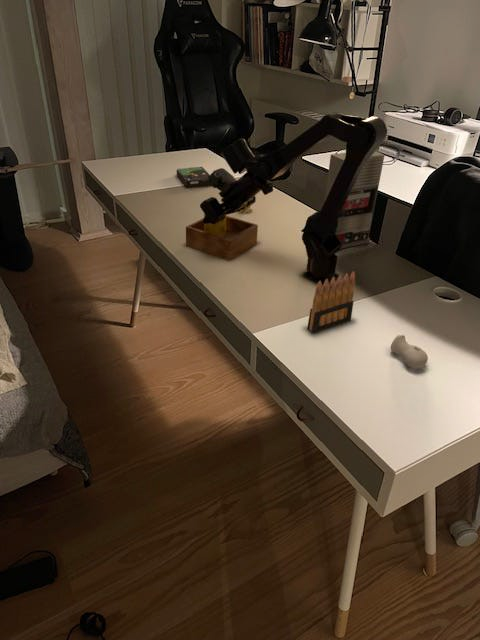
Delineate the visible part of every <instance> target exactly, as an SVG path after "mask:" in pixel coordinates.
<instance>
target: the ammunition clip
mask: <svg viewBox="0 0 480 640" xmlns="http://www.w3.org/2000/svg"><path fill="white" fill-rule="evenodd" d="M342 277H343V276H342V275H341V274H339V275H338V277H337V278H335V277H333V278H332V280H331V281H329V282H328V279H326V280H325V282H324V284H322V283H321V281H319V282H317V284H316V288H315V292H314V297H313V300H312V306H311V308H310V309H309V310H310V311H309V316H308V320H307V321H308V322H307V327H306V330H307V331H309V332H310V333H312V334H315V333H318V332H321V331H322V332H323V331H324V330H327V329H331V328H333V327H337V326H341V325H342V324H345V323H348V322H351V321H352V316H353V308H354V299H353V298H354V294H355V283H356V273H355V271H354V270H353V271H352V272H351V273H350V277H349V273H348V272H346V273H345V275H344V277H343V278H342Z"/></svg>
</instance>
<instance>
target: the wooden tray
mask: <svg viewBox="0 0 480 640" xmlns="http://www.w3.org/2000/svg"><path fill="white" fill-rule="evenodd" d="M203 219H204V217H203V218H201V219H199V220H197V221H195V222H193V223H190V224H189V225H186V226H185V245H186V246H187V247H189V248H192V249H195V250H198V251H200V252H201V251H202V252H204V253H207V254H211V255H213V256H216V257H219V258H222V259H225V260H227V261H230V260H232V259H234V258H235V257H237V256H238V255H241V253H243V252H244V251H246V250H248V249H249V248H251V247H253V246H254V245H256V244H257V243H258V232H259V231H258V228H259V225H258V224H256V223H253V222H250V221H247V220H242V219H240V218H236V217H233V216H229V215H226V235H225V236H223V237H220V236H217V235H214V234H211V233H208V232H205V231H204V222H203Z"/></svg>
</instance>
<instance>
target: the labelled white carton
mask: <svg viewBox="0 0 480 640" xmlns="http://www.w3.org/2000/svg"><path fill="white" fill-rule="evenodd" d="M345 156H346V152H339V153H332V154H330V157H329V166H328V174H327V180H326V188H325V193H324V200H323V201H324V202H325V200H326V198H327V196H328V194H329V192H330V189H331V187H332V185H333V183H334V181H335V179H336V177H337V175H338V173H339V170H340V168H341V166H342V164H343V162H344V160H345ZM384 161H385V154H384V153H382V152H379V151H377V150H376V151H375V152H374V153H373V155H372V156H371V157H370V158H369V159H368V160H367V161H366V163H365V164H364V166H363V168H362V170H361V172H360V174H359V176H358V178H357V180H356V182H355V184H354V186H353V188H352V190H351V192H350V194H349V196H348V198H347V200H346V202H345V204H344V206H343V208H342V210H341V212H340V214H339V216H338V226H337V230H336V235H337V236H338V238H339V239H340V241H341V242H342V244H343V245H342V247H341V249H346V248H350V247H355V246H358V245H365V244H369V243H370V242H371V238H370V233H371V229H372V228H371V227H372V224H373V223H372V222H373V218H374V211H375V207H376V202H377V197H378V192H379V187H380V181H381V176H382V171H383V166H384ZM324 202H323V203H324Z"/></svg>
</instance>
